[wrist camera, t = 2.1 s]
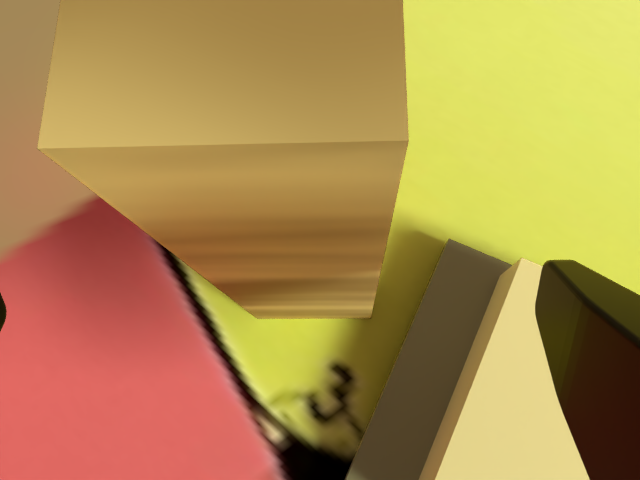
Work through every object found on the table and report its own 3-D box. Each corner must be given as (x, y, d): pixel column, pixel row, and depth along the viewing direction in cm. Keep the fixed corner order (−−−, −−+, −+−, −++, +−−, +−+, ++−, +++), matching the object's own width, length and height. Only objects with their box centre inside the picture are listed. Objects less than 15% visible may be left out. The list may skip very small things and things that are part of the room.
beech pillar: (370, 318, 19) (408, 139, 6) (257, 318, 19) (37, 148, 6) (368, 209, 20) (396, -155, 7) (261, 211, 20) (82, -138, 7)
